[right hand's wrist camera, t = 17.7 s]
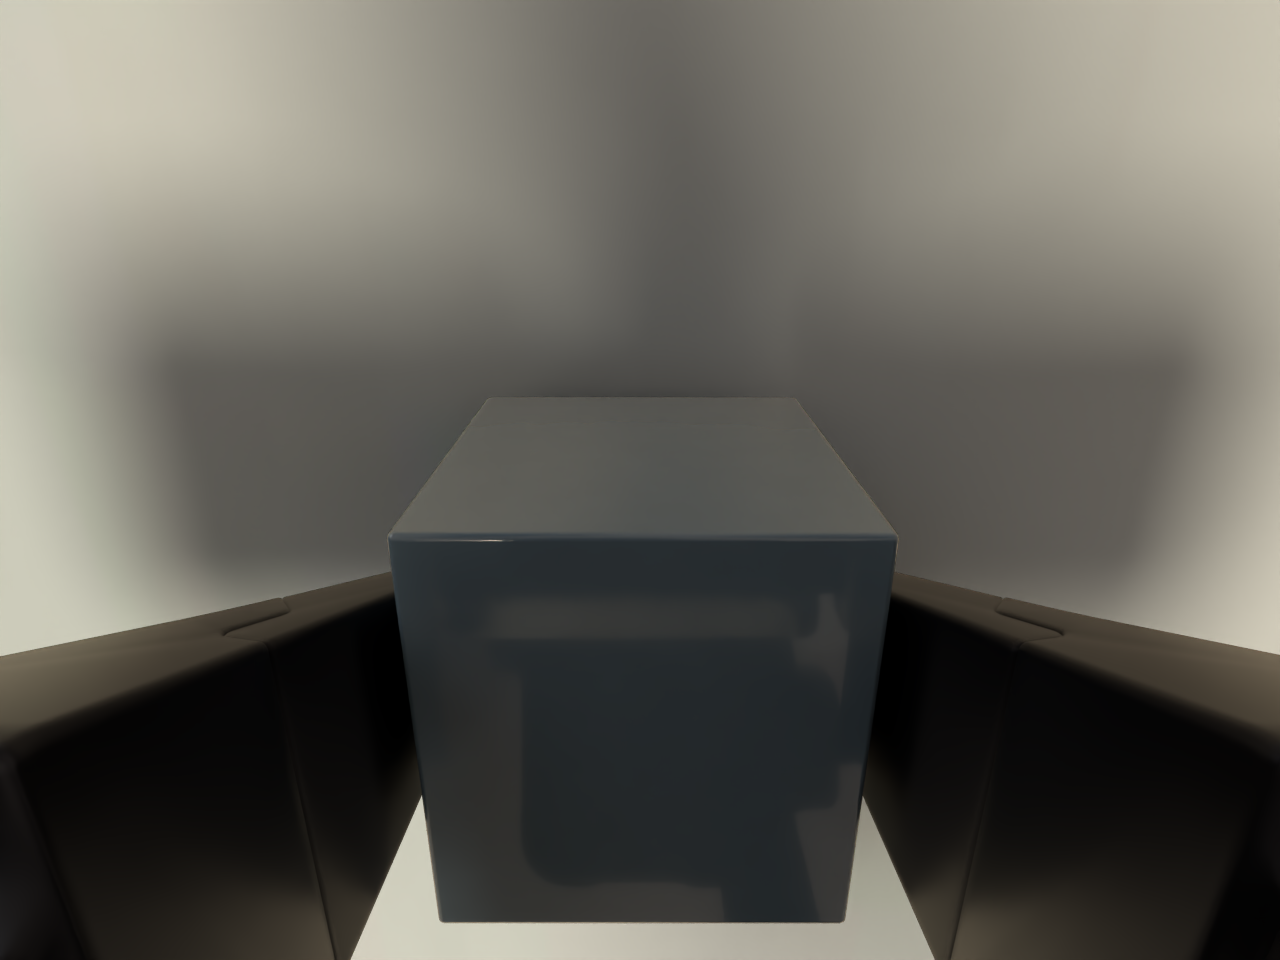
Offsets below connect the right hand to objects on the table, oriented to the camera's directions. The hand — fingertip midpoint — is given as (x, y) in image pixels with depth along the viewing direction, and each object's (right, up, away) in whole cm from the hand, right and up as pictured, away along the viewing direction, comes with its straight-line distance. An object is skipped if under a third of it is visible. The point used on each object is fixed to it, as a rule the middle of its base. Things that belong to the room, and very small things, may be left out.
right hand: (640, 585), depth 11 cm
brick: (0, +1, +1) cm, 1 cm away
